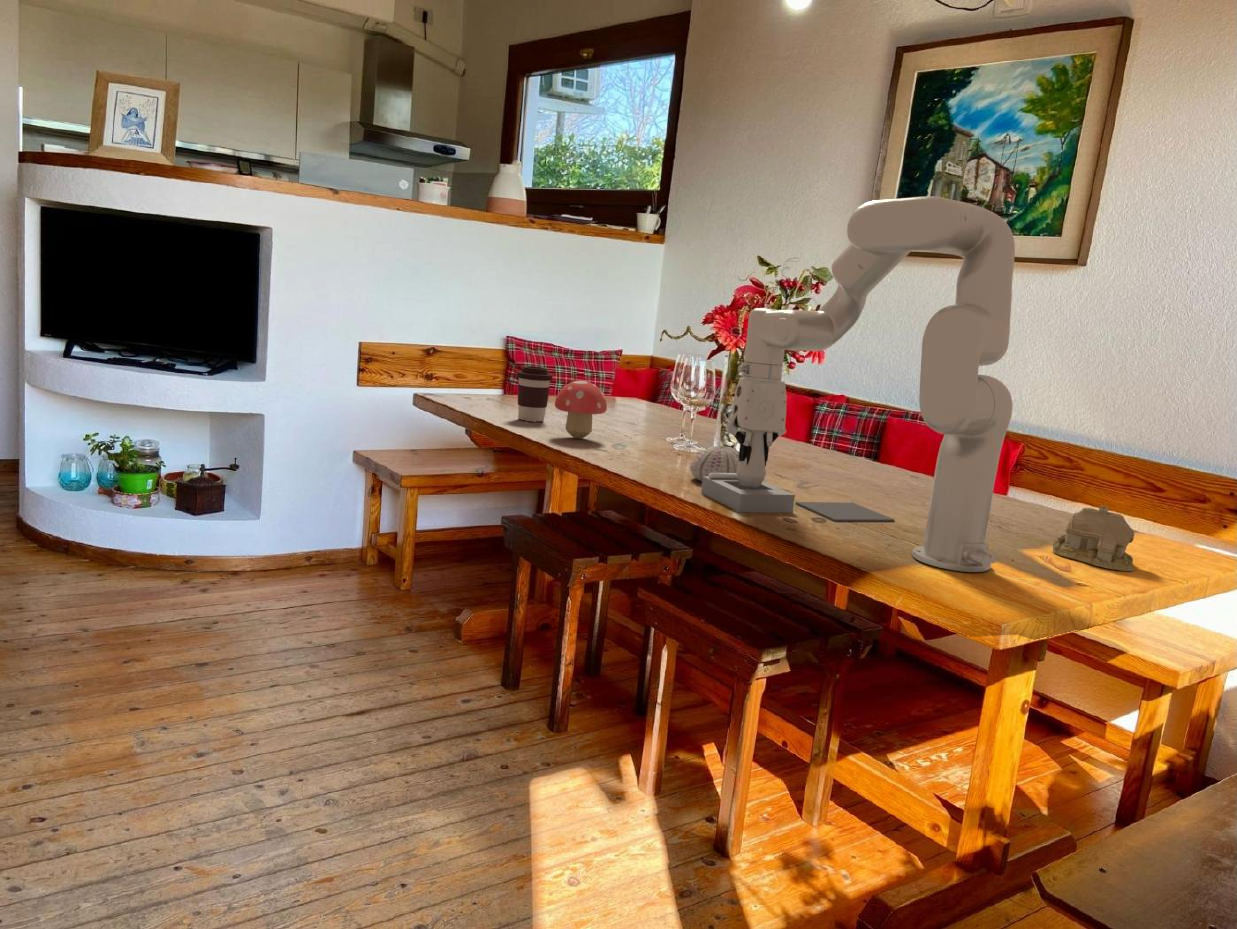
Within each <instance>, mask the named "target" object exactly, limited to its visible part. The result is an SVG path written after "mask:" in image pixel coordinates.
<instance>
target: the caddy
mask: <svg viewBox="0 0 1237 929" xmlns="http://www.w3.org/2000/svg"><path fill="white" fill-rule="evenodd" d="M700 494H702V495H705V496H706V497H708V498H710V499H712V500H714V501H716V502H718V503H720V504H722V505H724V506H726V507H728V508H729V509H732V510H734V511H736V512H737V513H794V512H793V511H794V506H795V497H796V494H794V493H791V492H790V491H787V490H784V489H782V488H780V487H777V486H776V485H774V484H770V483H768V482H766V481H764V480H763V482H762V484H761V486H760V487H748V486H743V485H740V484H739V481H738V477H737V473H709V476H703V481H701V490H700Z"/></svg>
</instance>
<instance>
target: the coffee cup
mask: <svg viewBox="0 0 1237 929" xmlns="http://www.w3.org/2000/svg"><path fill="white" fill-rule="evenodd" d="M516 378H518V383H517V405H518V409H517V414H518V415H517V416H518V420H519V419H522V420H526V421H525V422H527V421H543V422H544V421H545V414H546V409H547V407H548V401H549V394H550V389H551V388H550V382H551V381H553V374H551V373H550V372H549V369H548V368H547V367H543V366H535V365H534V366H533V365H525V366H523V367H522V369H521V370H518V371H517V372H516ZM522 420H521V421H522Z"/></svg>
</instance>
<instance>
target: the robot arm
mask: <svg viewBox="0 0 1237 929" xmlns="http://www.w3.org/2000/svg"><path fill="white" fill-rule="evenodd" d="M847 223H848V224H847V227H846V228H847V229H846V233H847V238H848V241H849V243H850V244H849V245H848V246H847V247H846V248H845V249H844V250H843V251H842V253H840V254H839V255H838V256H837V257H836V258H835V259H834V261H833V262H832V264H831V274H832V277H833V278H834V280H835V281H836V283H837V284H838V285H837V287H836V290H835V291H834V293H833V295H832V296H831V297H830V298H829V299H828V300H827V301H826V302H825V304H824V305H822V306H821V308H819V309H818V310H816V311H814V310H801V309H799V310H798V309H774V308H762V307H759V308H753V309H751V311H750V313H749V314H748V315H749V316H748V322H747V333H746V343H745V349H744V350H745V351H744V353H745V354H744V361H743V362H742V364H741V365H738V367H737V372H738V373H742V377H740V378H739V379H738V383H737V386H736V389H735V393H734V397H733V402H732V408H731V417H730V420H729V421H728V423H727V425H726V427H725V431H726V432H728V433H729V434H731V435H732V436H733V437H734V438H735V439H736V440H737V443H738V444H739V449H738V452H739V461H744V460H745V458H747V465H748V463H749V460H750V455H751V451H752V447H751V446H749V444H750V439H751V434H752V431H766V433H764V434H763V440H764V458H765V467H766V466H767V462H768V460H769V459H768V458H769V452H770V447H772V446H773V443H774V442H775V441H776V440H777V439H778V438H779V437H781V436H783V435H785V434H786V433H787V429H786V418H787V390H786V389H787V388H786V382H785V381H783V380H782V377H783V376H782V375H783V367H784V358H785V350H786V351H799V352H800V351H804V352H805V351H807V352H809V351H810V352H820V351H825V350H827V349H828V348H831V346H833V345H835V344H836V343H837V342H838V341H839V340H841V338H843V337H844V336H845V334H846V333H848V331H850V329H852V328H853V327H854V325H855V324H856V323H857V322H858V320H859V318H860V316H861V314H862V312H863V310H864V307H865V306H866V302H867V301H866V300H867V297H868V295H869V293H870V292H872V290H873V289H875V288H876V286H878V284H880V283H881V282H882V281H883V279H885V278H886V277H887V276H888V275H889V274H890V273H891V272H892V270H894V268H896V267H897V266H898V265H899V264H900V263H901V262H902V261H903V260H904V259H905V258H906V257H907V256H908V255H909V254H910V253H911V252H912V251H925V252H927V251H928V252H933V253H940V254H945V255H952V256H957V257H960V258H962V259H963V262H962V265H961V267H960V270H959V272H958V274H957V279H956V285H955V286H956V291H955V293H956V294H955V295H956V296H955V304H952V305H948V306H945V307H943V308H941V309H939V310H938V311H937V312H935V313H934V314H933V316H932V317H931V318H930V319H929V321H928V323H927V324H926V327H925V329H924V332H923V336H922V340H921V341H922V343H921V356H920V376H919V390H918V391H919V395H918V396H919V397H918V398H919V400H918V402H919V410H920V415H921V417H922V419H923V421H924V423H925V424H926V426H928V427H929V428H930V429H931V430H933V431H934V432H936V433H938V434H941V435H943V438H942V441H941V442H940V446H939V450H938V453H937V454H938V455H937V458H936V464H935V470H934V475H933V476H934V477H933V484H932V489H931V495H930V501H929V502H930V503H929V509H928V514H927V521H926V527H925V533H924V539H923V540H924V541H923V545H918V546H915V547H913V549H912V557H914V559H915V560H917V561H919V562H921V563H923V564H926V565H929V566H932V567H936V568H940V569H945V570H948V571H949V570H950V571H954V572H955V571H956V572H964V573H965V572H966V573H982V572H987V571H989V570H990V569H991V567H992V564H995V563H996V562H997V556H996V555H995V554H992V553H990V552H988V550H989V543H988V542H985V541H986V535H987V529H988V523H989V520H990V519H989V517H990V510H991V506H992V499H993V495H994V488H995V482H996V476H997V472H998V468H999V467H998V466H999V462H1000V461H999V460H1000V456H1001V452H1002V448H1003V443H1004V440H1005V437H1006V434H1007V431H1008V428H1009V425H1010V422H1011V418H1012V414H1013V398H1012V395H1011V392H1010V391H1009V389H1008V387H1007V386H1006V384H1004V383H1003V381H1001V380H1000V379H998V378H996V377H993V376H991V375H987V374H979V368H980V367H982V366H983V367H984V366H989V365H993V364H995V363H997V362H999V361H1000V360H1001V359H1002V358H1003V357H1005V355H1006V352H1007V350H1008V348H1009V344H1010V335H1011V334H1010V331H1011V314H1012V313H1011V312H1012V299H1013V298H1012V296H1013V295H1012V294H1013V276H1014V265H1015V255H1016V246H1015V238H1014V234H1013V232H1012V229H1011V228H1010V226H1009V224H1008V223H1007V222H1006V220H1005V219H1003V218H1002V217H1001V216H999V215H998V214H997V213H995V212H993V211H991V210H989V209H987V208H985V207H981V206H978V205H975V204H973V203H968V202H965V201H959V200H954V199H951V198H948V197H947V198H946V197H942V196H935V195H928V196H926V195H925V196H913V197H901V198H890V199H887V198H886V199H875V200H870V201H867V202H865V203H863V204H861V205H860V206H858V207H857V208H856V209H855V211H853V213H852V214H851V216H850V218H849V220H848V222H847ZM737 428H738V429H739V430H738V429H737Z"/></svg>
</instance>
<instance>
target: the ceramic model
mask: <svg viewBox="0 0 1237 929" xmlns="http://www.w3.org/2000/svg"><path fill="white" fill-rule="evenodd" d="M1064 531H1065V534H1063V535H1059V536H1058V537H1056V539H1054V540H1053V541H1052V544H1051V545H1052V552H1053V553H1055V554H1056V555H1059V556H1061V557H1065V558H1068V559H1072V560H1077V561H1079V562H1083V563H1086V564H1090V565H1093V566H1096V567H1100V568H1105V569H1108V570H1109V569H1110V570H1116V571H1124V572H1133V571H1134V568H1135V567H1134V563H1133V562H1134V558H1133V557H1132V555H1130V554H1129V553H1127V552H1126V551H1127V550H1126V549H1127V547H1128V545H1129V544H1131V543H1133V541H1134V539H1135V531H1134V529H1133V528H1132V527H1131V526H1130V524H1128V522H1127V521H1126V519H1125V517H1124V515H1122V514H1120V513H1116V512H1111V511H1110V512H1109V508H1108V506H1102V505H1101V506H1099V508H1098V509H1096V508H1093V507H1083V508H1082V509H1081V510H1079V511H1077V512H1076V511H1075V512H1074V513H1073V515H1072V516H1071V518H1070V519H1069V521H1068V523H1067V526H1066V527H1065V529H1064Z"/></svg>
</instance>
